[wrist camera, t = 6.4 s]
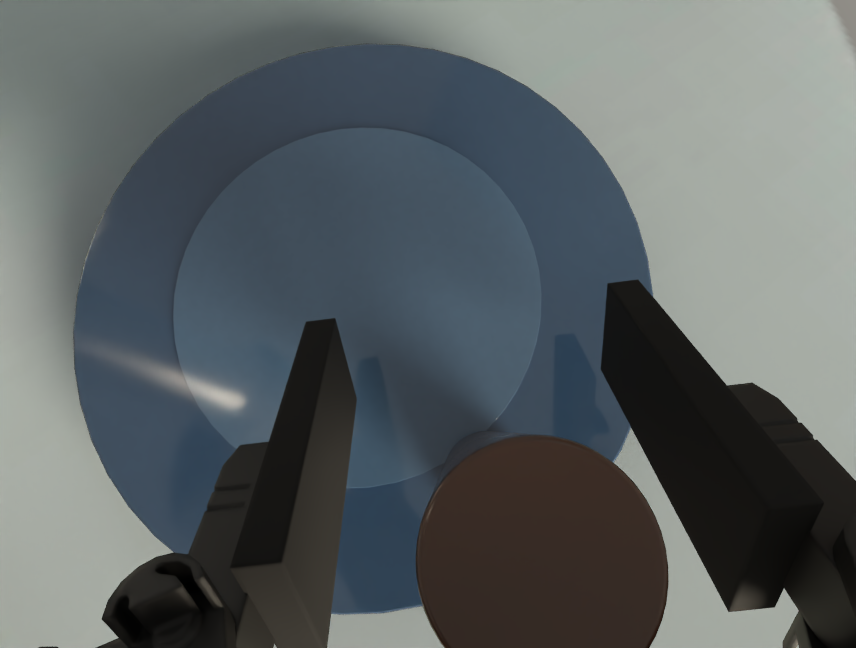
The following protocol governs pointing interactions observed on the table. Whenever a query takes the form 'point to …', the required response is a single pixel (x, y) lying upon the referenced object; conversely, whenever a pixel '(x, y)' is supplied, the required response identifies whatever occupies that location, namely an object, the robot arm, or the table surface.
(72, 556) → the table surface
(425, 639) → the table surface
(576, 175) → the blue disc with rod
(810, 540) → the robot arm
